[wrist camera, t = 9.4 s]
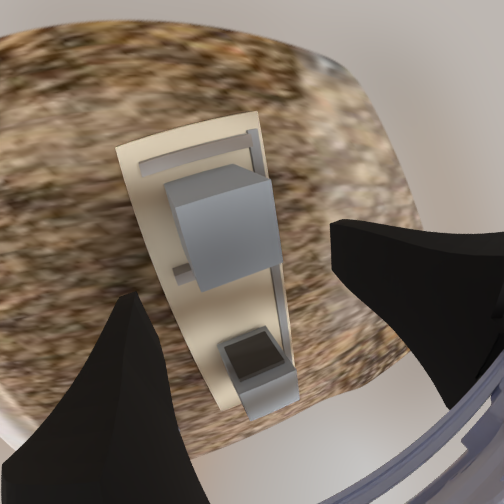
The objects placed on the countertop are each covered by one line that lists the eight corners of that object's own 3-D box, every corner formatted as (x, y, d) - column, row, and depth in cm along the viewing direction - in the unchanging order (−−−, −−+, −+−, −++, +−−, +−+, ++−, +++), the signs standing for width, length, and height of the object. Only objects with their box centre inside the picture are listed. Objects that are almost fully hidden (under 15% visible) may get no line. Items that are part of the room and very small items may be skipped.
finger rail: (290, 371, 28) (321, 415, 22) (217, 402, 26) (239, 452, 20) (249, 111, 16) (304, 108, 11) (116, 146, 14) (104, 156, 9)
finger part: (246, 232, 18) (284, 269, 14) (184, 253, 17) (203, 299, 13) (232, 163, 16) (270, 179, 12) (163, 183, 15) (175, 207, 11)
